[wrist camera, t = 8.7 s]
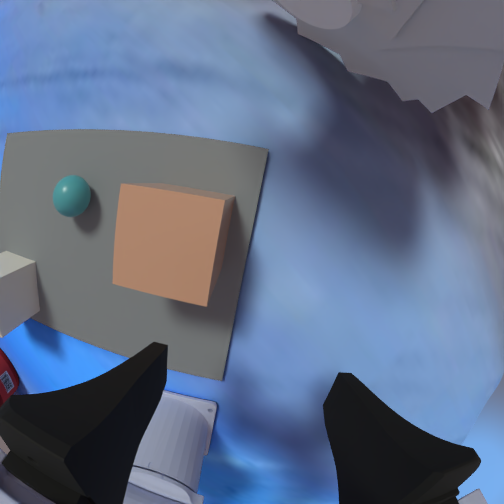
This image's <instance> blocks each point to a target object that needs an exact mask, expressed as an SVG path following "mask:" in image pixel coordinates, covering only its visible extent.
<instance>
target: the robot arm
mask: <svg viewBox="0 0 504 504" xmlns="http://www.w3.org/2000/svg"><path fill="white" fill-rule="evenodd" d="M167 357H168V345H166V344H162V343H158V342H152V343H151V344H149V345H148V346H147V347H145V348H144V349H142V350H141V351H140V352H138V353H137V354H135V355H134V356H132V357H131V358H129V359H128V360H126V361H125V362H123V363H122V364H120V365H118V366H117V367H115V368H113V369H111V370H109V371H108V372H106V373H104V374H102V375H100V376H98V377H96V378H94V379H91V380H89V381H86V382H84V383H81V384H78V385H75V386H71V387H68V388H65V389H61V390H56V391H52V392H46V393H39V394H28V395H11V396H10V397H9V398H8V399H7V400H6V401H5V403H4V404H3V405H2V406H1V407H0V436H1V437H2V439H3V440H4V442H5V443H6V445H7V446H8V448H9V449H10V452H9V453H8V455H6V454H5V453H4V452H3V451H2V450H1V449H0V504H203V499H204V496H202V495H199V494H197V491H198V485H199V480H200V474H201V468H202V462H203V457H204V455H207V454H208V450H209V445H210V440H211V435H212V430H213V424H214V419H215V414H216V409H217V404H216V403H215V402H213V401H208V400H203V399H198V398H194V397H189V396H185V395H181V394H177V393H173V392H169V391H165V390H164V388H165V384H166V381H167ZM210 409H212V410H210ZM323 410H324V420H325V426H326V430H327V434H328V438H329V442H330V445H331V449H332V453H333V457H334V461H335V465H336V470H337V479H338V490H339V504H487V502H486V500H485V498H484V496H483V494H482V493H481V491H480V489H476V490H475V491H473V492H471V493H469V494H467V495H466V496H464V497H462V498H461V499H459V500H457V498H456V496H457V495H458V494H459V490H458V487H459V486H460V485H461V484H462V483H463V482H464V481H465V480H466V479H468V478H469V477H470V476H471V475H472V473H474V472H475V471H476V469H477V468H478V467H479V465H480V463H481V459H480V458H479V456H478V455H477V453H476V452H475V450H474V449H473V448H470V447H465V446H461V445H457V444H454V443H451V442H448V441H445V440H443V439H440V438H438V437H435V436H433V435H431V434H429V433H427V432H425V431H423V430H421V429H420V428H418V427H416V426H414V425H413V424H411V423H410V422H408V421H407V420H405V419H404V418H402V417H401V416H400V415H398V414H397V413H396V412H395V411H393V410H392V409H391V408H389V407H388V406H387V405H386V404H385V403H384V402H382V401H381V400H380V399H379V398H378V397H377V396H376V395H375V394H374V393H373V392H372V391H370V390H369V389H368V388H367V387H366V386H365V385H364V384H363V383H362V382H361V381H360V380H359V379H358V378H356V377H355V376H354V375H353V374H352V373H341V372H339V373H338V375H337V377H336V379H335V382H334V384H333V386H332V388H331V390H330V392H329V394H328V396H327V398H326V400H325V402H324V404H323Z"/></svg>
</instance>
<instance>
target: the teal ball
mask: <svg viewBox="0 0 504 504" xmlns="http://www.w3.org/2000/svg"><path fill="white" fill-rule="evenodd" d="M90 198H91V191H90V187H89V185H88V183H87V182H86V181H85V180H84V179H83V178H82V177H80V176H77V175H69V176H66V177H64V178H62V179H61V180H60V181H59V182H58V183H57V185H56V186H55V188H54V191H53V204H54V207H55V208H56V210H57V211H58V212H59V213H60V214H61V215H63V216H66V217H75V216H78V215H80V214H81V213H83V212H84V211H85V210H86V208H87V207H88V205H89V202H90Z"/></svg>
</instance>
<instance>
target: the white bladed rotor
mask: <svg viewBox="0 0 504 504" xmlns="http://www.w3.org/2000/svg"><path fill="white" fill-rule="evenodd" d="M272 1H273V2H275V3H276V4H278V5H279V6H280V7H282V8H283V9H284V10H286V11H287V12H288V13H290V14H291V15H292V16H294V17H295V18H296V20H297V30H298V34H299V35H301V36H304V37H306V38H308V39H310V40H312V41H314V42H316V43H318V44H320V45H322V46H324V47H326V48H328V49H330V50H332V51H334V52H336V53H338V54H339V55H340V56H341V58H342V60H343V62H344V65H345V67H346V69H347V71H348V72H352V73H357V74H361V75H365V76H368V77H372V78H376V79H379V80H383V81H386V82H388V83H389V84H390V86H391V87H392V88H393V90H394V91H395V92H396V93H397V95H398V96H399V97H400V99H401V100H402V101H409V100H419V101H420V102H421V103H422V104H423V105H424V106H425V107H426V108H427V109H428V110H429V111H430V112H431V113H433V112H435V111H437V110H439V109H441V108H442V107H444V106H446V105H448V104H450V103H452V102H454V101H456V100H458V99H460V98H462V97H463V96H465V95H467V96H469V97H470V98H472V99H473V100H475V101H476V102H478V103H479V104H481V105H482V106H484V107H485V108H487V109H488V110H489V107H490V105H491V102H492V99H493V96H494V93H495V90H496V87H497V84H498V81H499V77H500V74H501V70H502V67H503V63H504V0H272Z"/></svg>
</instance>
